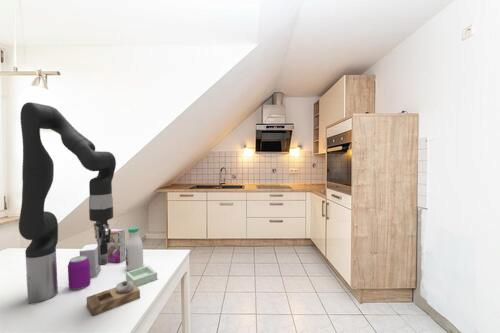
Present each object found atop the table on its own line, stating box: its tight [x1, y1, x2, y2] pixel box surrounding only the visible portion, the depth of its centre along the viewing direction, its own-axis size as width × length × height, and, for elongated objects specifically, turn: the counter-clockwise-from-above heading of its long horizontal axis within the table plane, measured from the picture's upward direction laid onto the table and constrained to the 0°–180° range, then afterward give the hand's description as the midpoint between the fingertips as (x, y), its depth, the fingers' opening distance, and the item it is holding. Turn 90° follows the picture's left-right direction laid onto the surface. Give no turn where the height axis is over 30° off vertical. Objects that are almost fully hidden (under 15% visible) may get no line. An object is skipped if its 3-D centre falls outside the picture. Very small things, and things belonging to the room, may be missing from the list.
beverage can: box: [67, 255, 91, 291], centre depth 108 cm, size 8×8×12 cm
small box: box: [79, 243, 102, 279], centre depth 118 cm, size 8×6×13 cm
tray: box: [125, 265, 158, 288], centre depth 113 cm, size 10×10×3 cm
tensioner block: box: [86, 280, 141, 317], centre depth 96 cm, size 16×9×6 cm, turn 134°
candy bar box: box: [107, 228, 126, 264], centre depth 133 cm, size 11×5×16 cm, turn 82°
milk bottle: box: [125, 226, 144, 272], centre depth 124 cm, size 8×8×20 cm
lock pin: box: [96, 232, 109, 266], centre depth 93 cm, size 4×4×12 cm
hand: (102, 252), depth 93 cm, fingers closed on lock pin, 3 cm apart
